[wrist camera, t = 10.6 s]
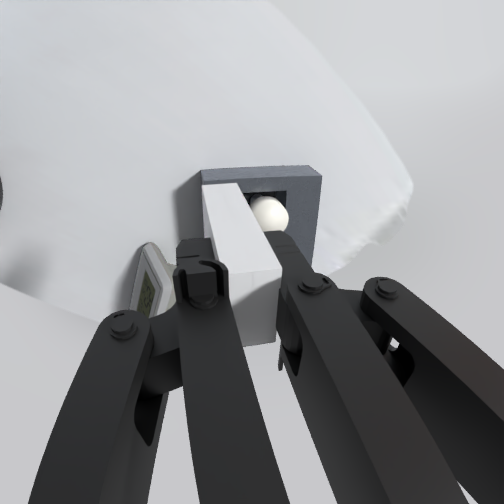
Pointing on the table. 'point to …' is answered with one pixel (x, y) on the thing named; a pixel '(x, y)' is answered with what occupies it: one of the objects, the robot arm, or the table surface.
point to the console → (280, 195)
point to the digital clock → (153, 283)
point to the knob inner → (269, 213)
